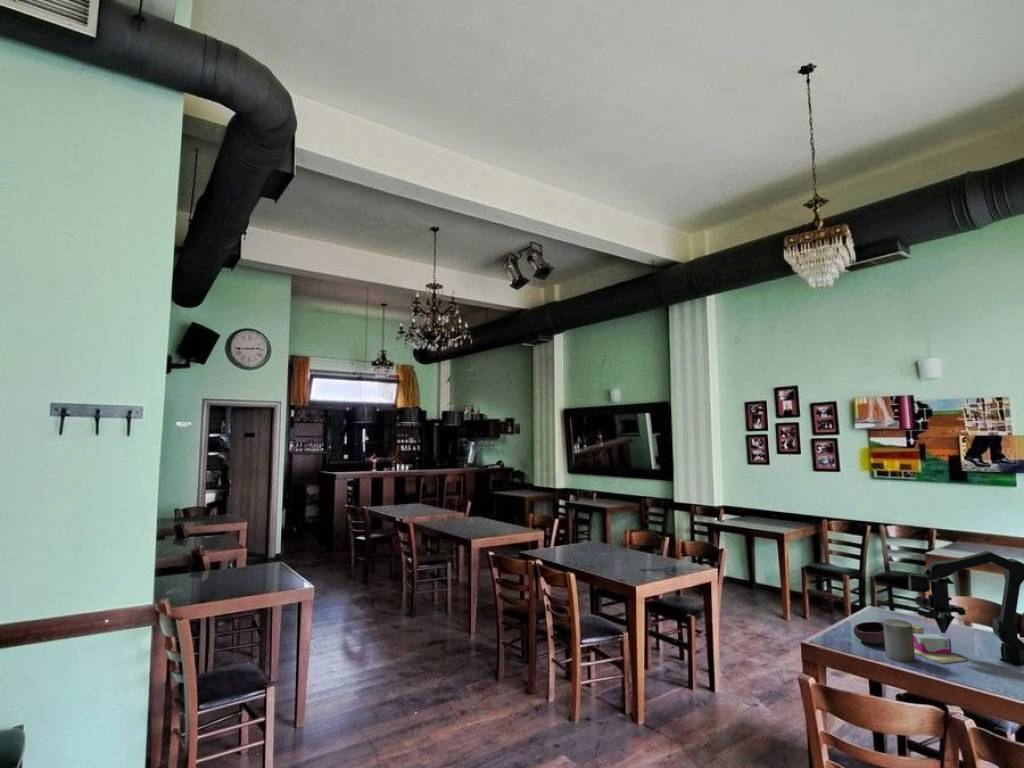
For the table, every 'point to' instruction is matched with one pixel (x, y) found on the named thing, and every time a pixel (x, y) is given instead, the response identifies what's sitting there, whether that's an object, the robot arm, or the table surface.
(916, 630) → the beech block
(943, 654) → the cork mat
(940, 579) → the robot arm
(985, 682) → the table surface
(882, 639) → the bowl
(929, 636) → the supplement box
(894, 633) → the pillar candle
